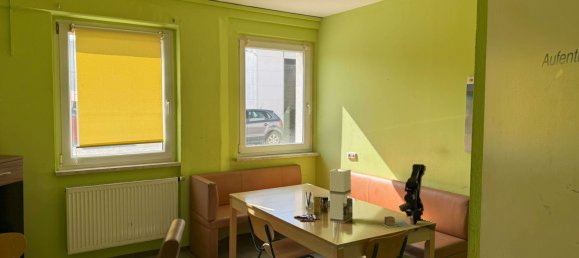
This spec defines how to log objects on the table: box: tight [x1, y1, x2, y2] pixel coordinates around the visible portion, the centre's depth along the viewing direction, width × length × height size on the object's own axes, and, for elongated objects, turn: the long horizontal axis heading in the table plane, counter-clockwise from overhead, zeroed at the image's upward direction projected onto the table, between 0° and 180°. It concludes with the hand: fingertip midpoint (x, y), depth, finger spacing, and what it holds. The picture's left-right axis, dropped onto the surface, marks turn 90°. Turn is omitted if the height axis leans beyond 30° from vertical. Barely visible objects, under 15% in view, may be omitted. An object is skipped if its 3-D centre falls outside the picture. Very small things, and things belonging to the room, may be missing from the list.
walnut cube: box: [383, 215, 396, 226], centre depth 280 cm, size 5×5×5 cm
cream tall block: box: [329, 168, 352, 224], centre depth 296 cm, size 11×11×35 cm
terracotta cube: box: [406, 216, 418, 225], centre depth 284 cm, size 5×5×5 cm
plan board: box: [379, 221, 412, 229], centre depth 281 cm, size 11×17×1 cm, turn 101°
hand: (411, 223), depth 284 cm, fingers open, 7 cm apart
